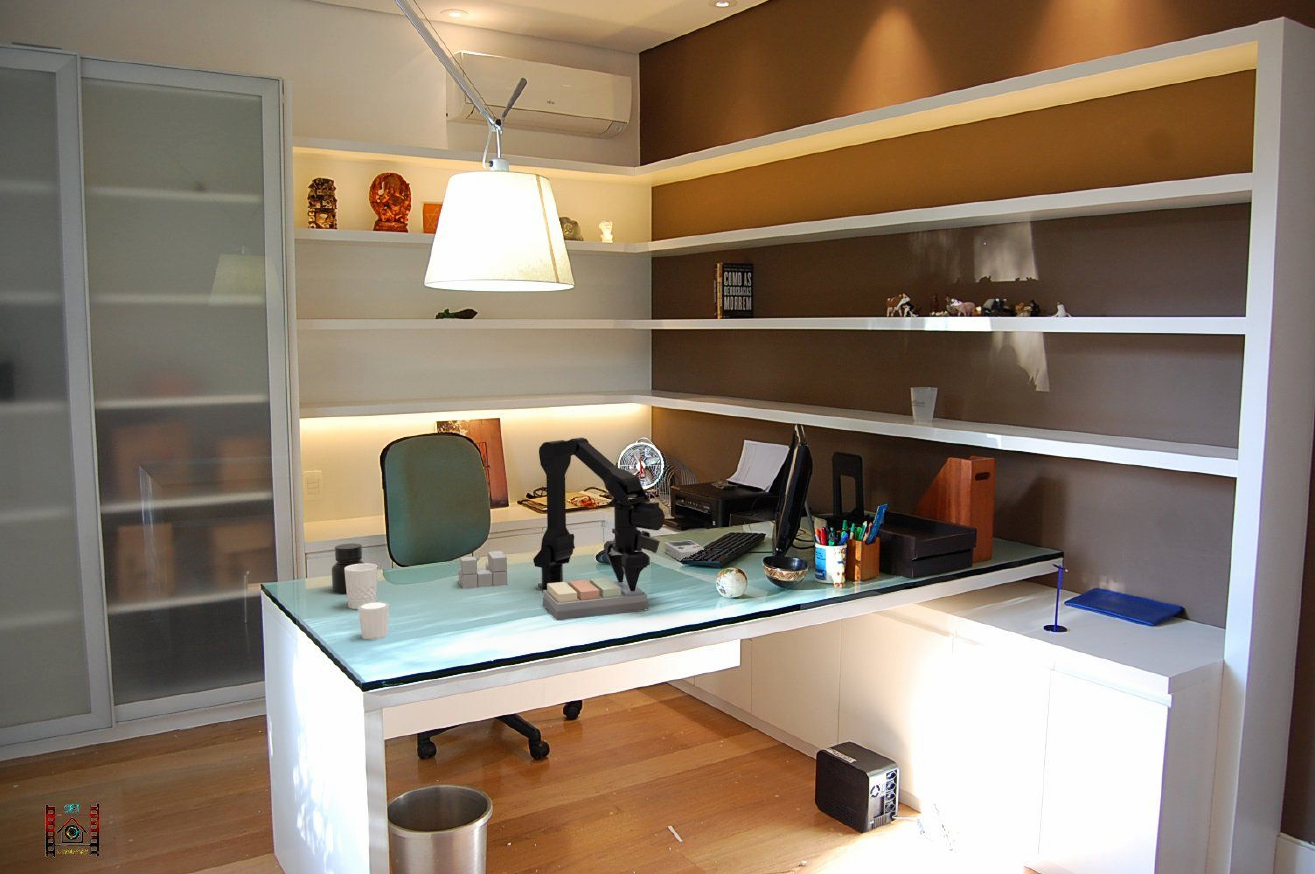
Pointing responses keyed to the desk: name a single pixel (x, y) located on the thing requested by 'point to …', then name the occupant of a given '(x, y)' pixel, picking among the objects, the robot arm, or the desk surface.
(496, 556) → the grey stacked cubes
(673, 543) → the handheld gaming device
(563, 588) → the sand key
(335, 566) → the ink bottle
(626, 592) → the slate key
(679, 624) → the desk surface
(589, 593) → the terracotta key
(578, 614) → the pastel key tray
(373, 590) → the white cup
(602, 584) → the sage key
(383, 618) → the white cylinder
